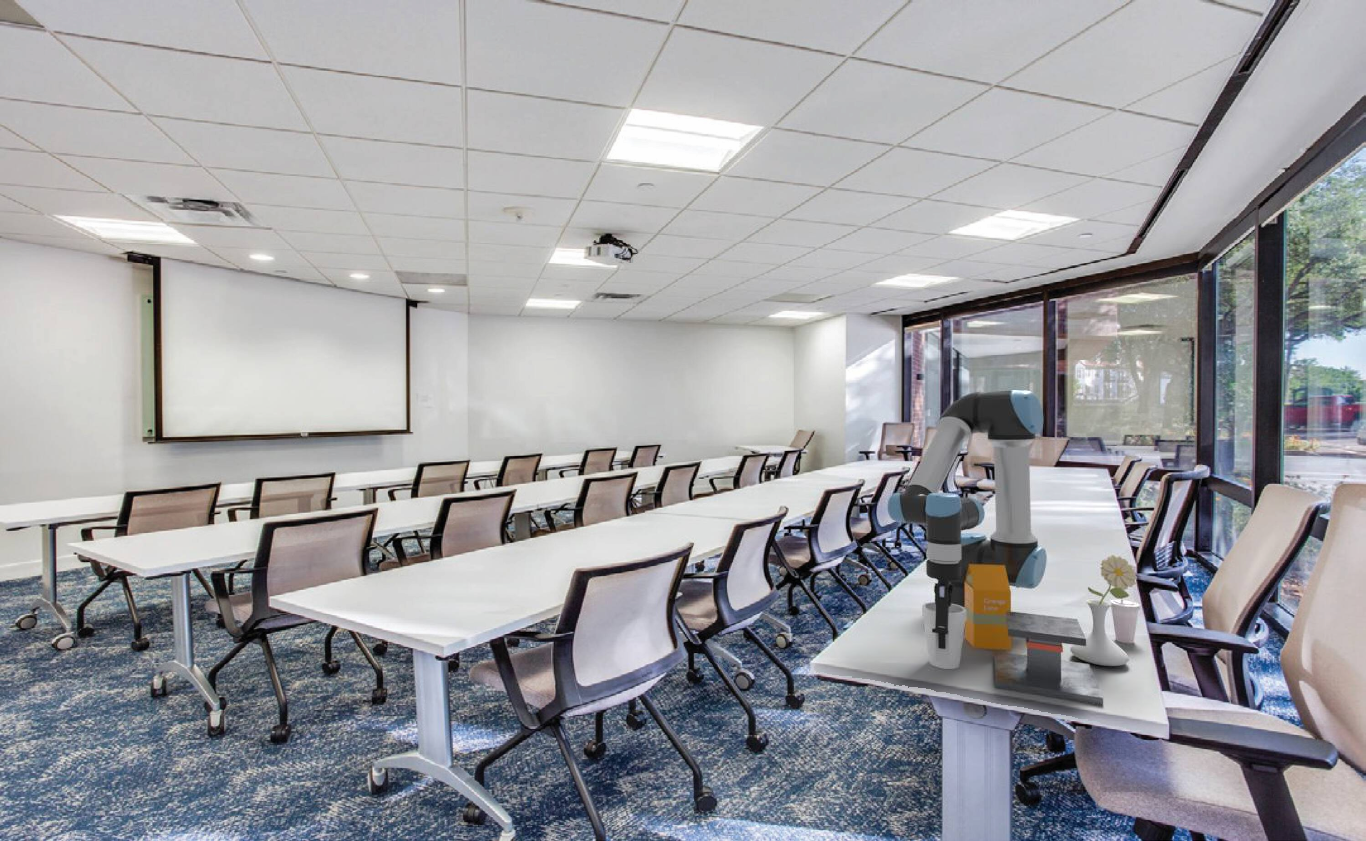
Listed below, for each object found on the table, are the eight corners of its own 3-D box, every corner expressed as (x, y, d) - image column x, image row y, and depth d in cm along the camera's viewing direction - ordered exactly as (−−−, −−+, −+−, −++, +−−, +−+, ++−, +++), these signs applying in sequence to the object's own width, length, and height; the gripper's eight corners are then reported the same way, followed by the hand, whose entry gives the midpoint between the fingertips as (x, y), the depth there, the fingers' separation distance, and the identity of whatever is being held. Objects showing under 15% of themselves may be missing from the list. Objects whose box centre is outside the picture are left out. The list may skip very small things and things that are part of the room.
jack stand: (994, 656, 147) (994, 606, 147) (1089, 670, 139) (1088, 617, 139) (995, 687, 130) (995, 630, 130) (1103, 705, 122) (1102, 644, 122)
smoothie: (1112, 634, 162) (1112, 581, 162) (1142, 640, 158) (1142, 585, 158) (1107, 640, 158) (1106, 585, 158) (1137, 647, 153) (1137, 590, 153)
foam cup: (954, 655, 148) (954, 601, 148) (974, 671, 139) (974, 613, 139) (915, 656, 148) (915, 602, 148) (932, 671, 139) (932, 613, 139)
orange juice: (1011, 649, 152) (1011, 568, 152) (973, 647, 153) (973, 567, 153) (1000, 638, 160) (1000, 561, 160) (964, 637, 161) (963, 560, 161)
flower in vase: (1076, 666, 141) (1076, 557, 141) (1065, 649, 152) (1064, 548, 152) (1145, 674, 137) (1144, 561, 137) (1128, 656, 147) (1127, 551, 147)
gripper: (930, 548, 156) (931, 632, 156) (921, 569, 134) (921, 667, 134) (963, 551, 153) (963, 637, 153) (959, 573, 131) (959, 674, 131)
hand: (944, 651), depth 143 cm, fingers open, 13 cm apart
